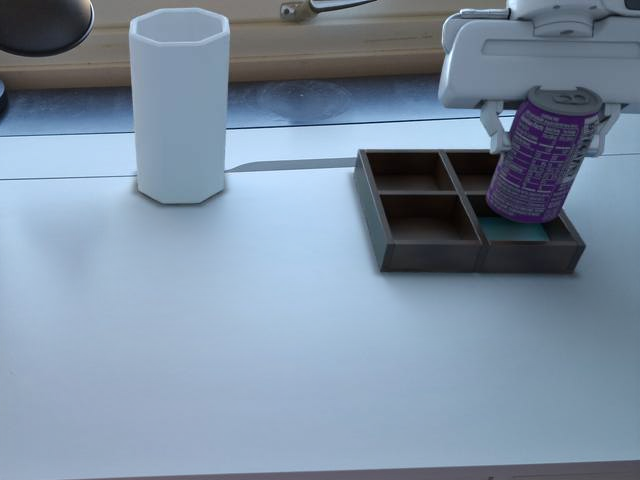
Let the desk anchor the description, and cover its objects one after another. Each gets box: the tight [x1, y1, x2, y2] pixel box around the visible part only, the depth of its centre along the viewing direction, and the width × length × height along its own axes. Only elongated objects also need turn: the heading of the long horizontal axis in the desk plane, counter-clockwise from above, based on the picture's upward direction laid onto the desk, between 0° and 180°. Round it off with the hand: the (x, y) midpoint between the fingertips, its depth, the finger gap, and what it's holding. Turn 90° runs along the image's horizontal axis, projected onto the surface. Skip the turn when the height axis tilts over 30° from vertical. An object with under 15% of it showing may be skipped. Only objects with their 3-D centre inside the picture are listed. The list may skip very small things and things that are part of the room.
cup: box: [128, 7, 231, 205], centre depth 79 cm, size 11×11×18 cm
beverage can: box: [486, 86, 603, 223], centre depth 67 cm, size 7×7×12 cm
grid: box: [353, 148, 587, 275], centre depth 77 cm, size 19×19×4 cm
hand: (546, 154), depth 66 cm, fingers closed on beverage can, 7 cm apart
